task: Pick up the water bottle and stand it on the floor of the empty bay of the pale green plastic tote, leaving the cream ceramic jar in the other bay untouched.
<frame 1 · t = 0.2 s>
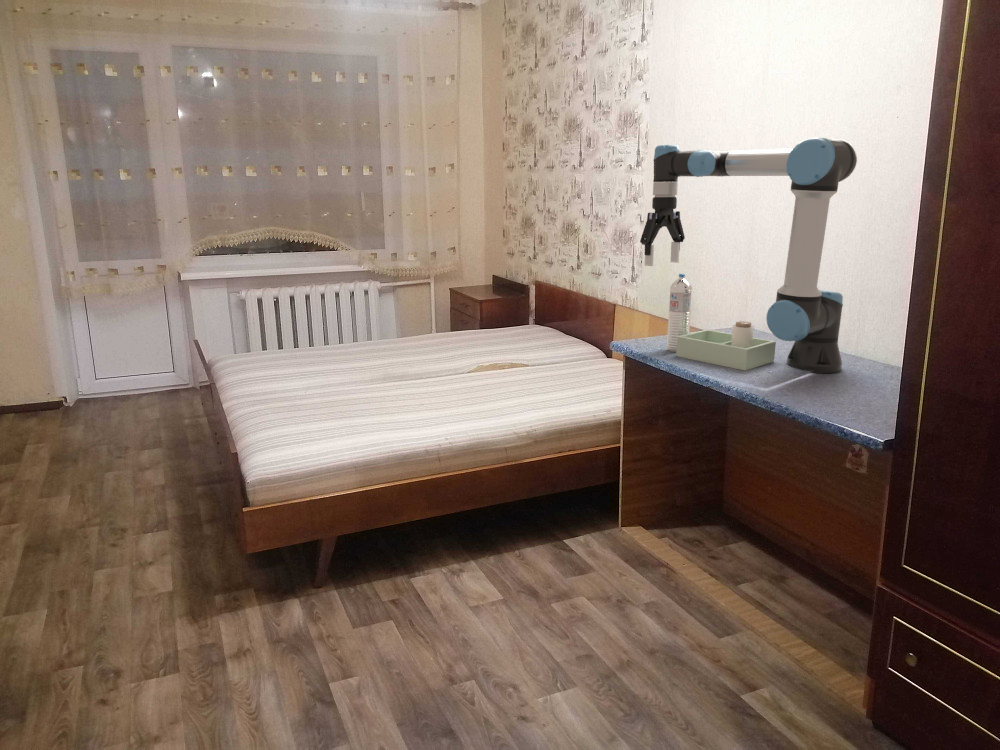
hand: (661, 264, 242), 28 cm above the table, fingers open, 13 cm apart
tote: (724, 361, 231), on the table
jar: (740, 361, 227), point 1 cm above the table, touching tote
water bottle: (677, 351, 245), on the table
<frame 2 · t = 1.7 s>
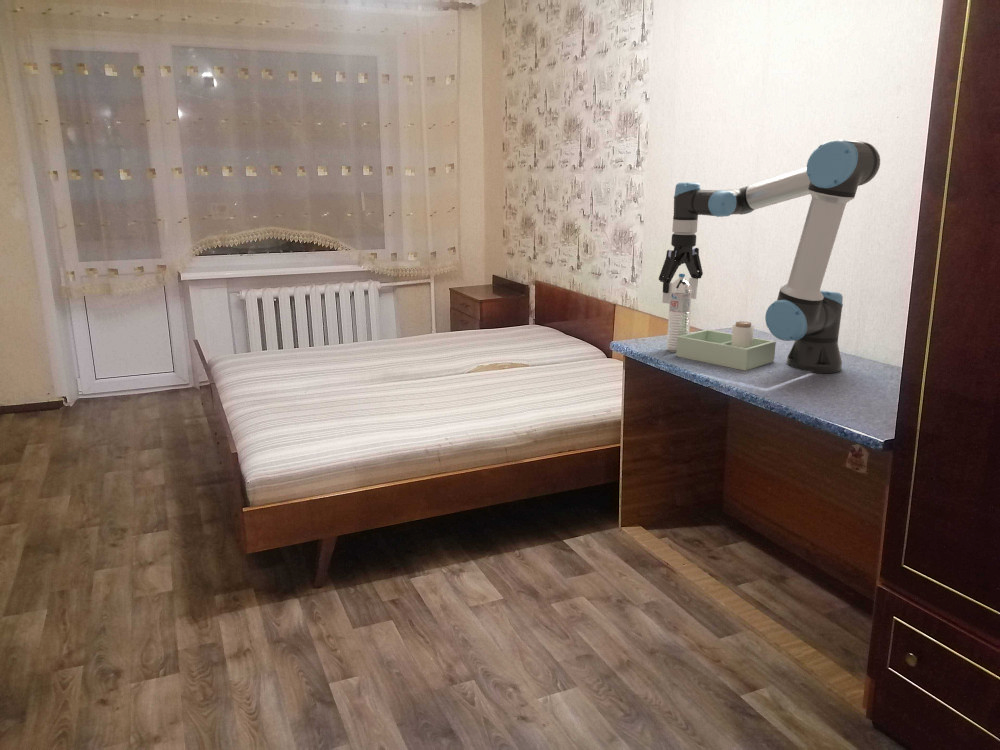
hand: (679, 300, 241), 16 cm above the table, fingers open, 13 cm apart
nothing on the table moved.
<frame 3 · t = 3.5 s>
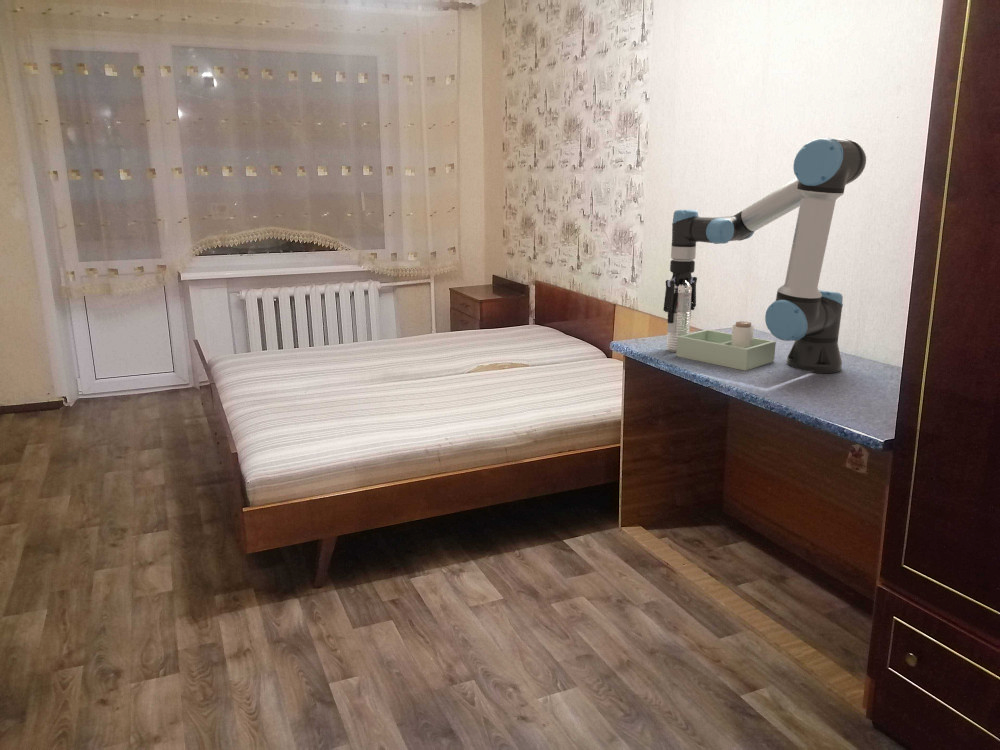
hand: (678, 331, 243), 7 cm above the table, fingers closed on water bottle, 7 cm apart
water bottle: (677, 351, 245), on the table, touching gripper
everything else where it was.
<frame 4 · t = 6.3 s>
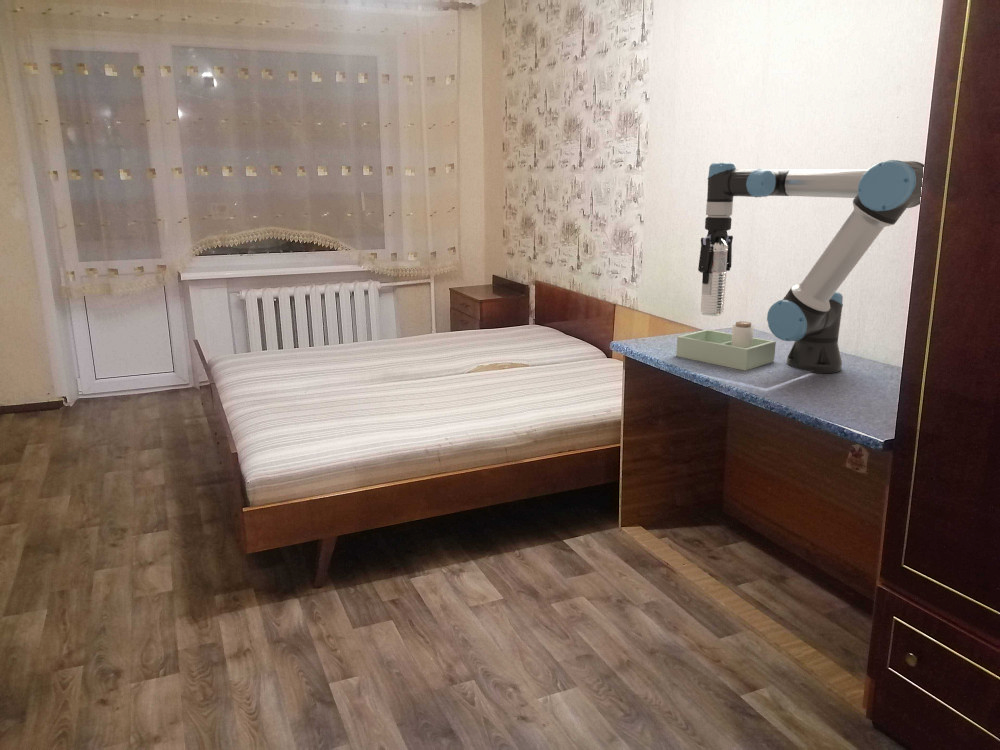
hand: (713, 293, 230), 20 cm above the table, fingers closed on water bottle, 7 cm apart
water bottle: (711, 314, 232), point 14 cm above the table, touching gripper
everything else where it was.
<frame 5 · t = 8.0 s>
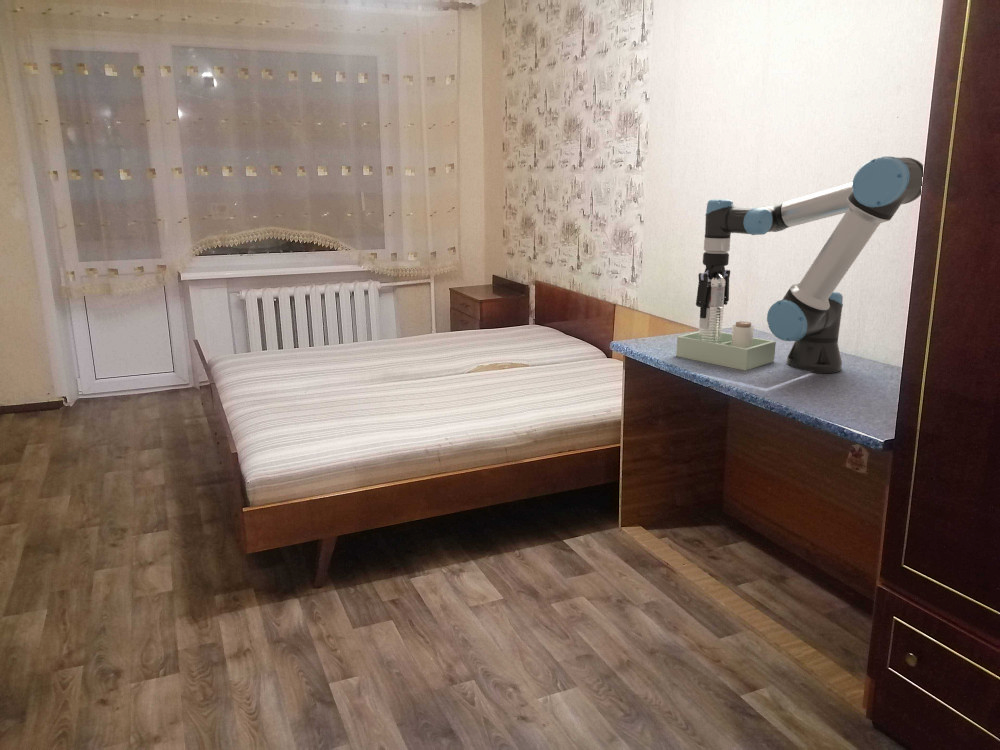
hand: (710, 326, 233), 10 cm above the table, fingers closed on water bottle, 7 cm apart
water bottle: (709, 347, 234), point 3 cm above the table, touching gripper
everything else where it was.
when the fingers open (9 cm above the table, at t = 9.0 s): water bottle drops 2 cm, resting on tote.
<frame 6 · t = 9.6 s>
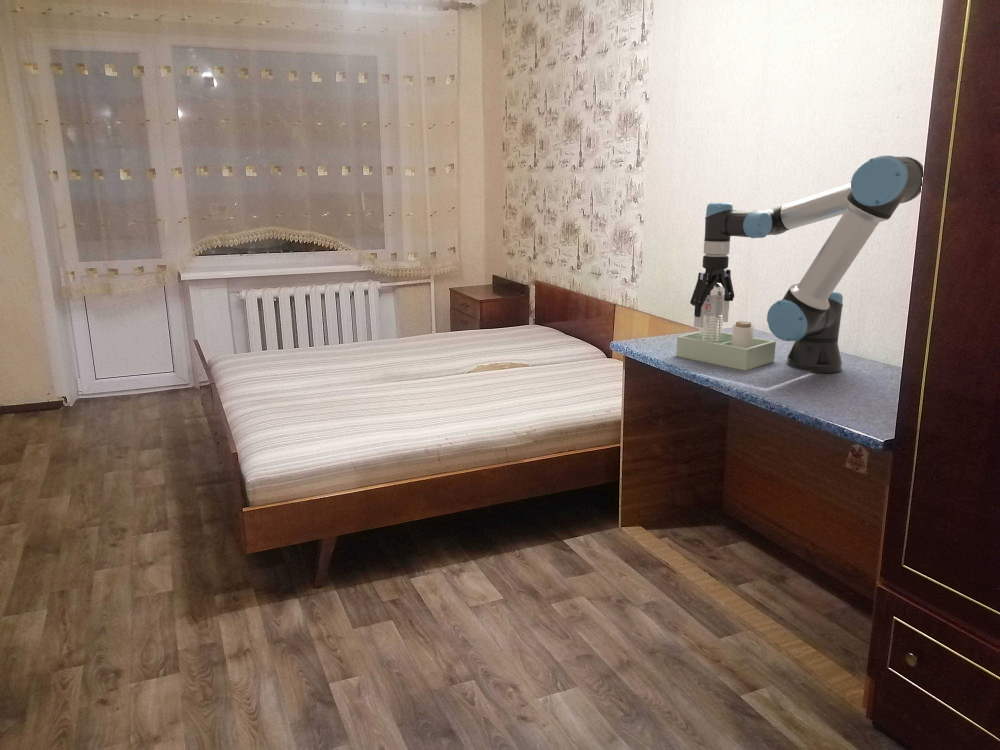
hand: (711, 324, 232), 11 cm above the table, fingers open, 13 cm apart
water bottle: (709, 356, 235), point 1 cm above the table, touching tote
everything else where it was.
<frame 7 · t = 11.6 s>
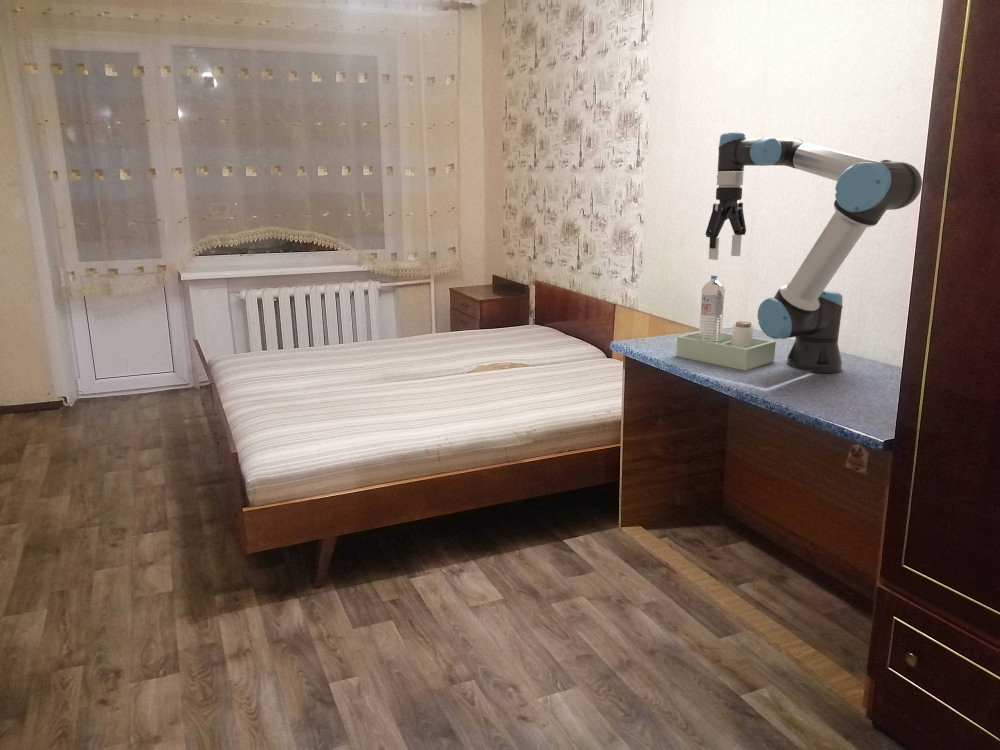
hand: (724, 257, 231), 31 cm above the table, fingers open, 13 cm apart
nothing on the table moved.
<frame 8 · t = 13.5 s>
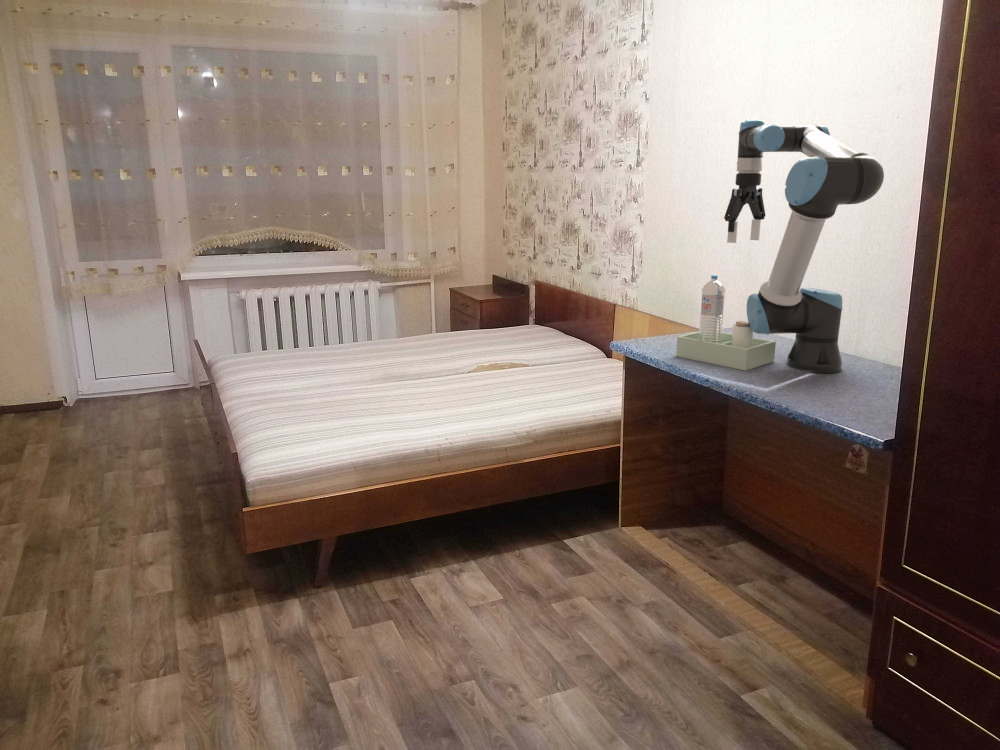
hand: (743, 241, 240), 35 cm above the table, fingers open, 13 cm apart
jar: (740, 361, 227), point 1 cm above the table, touching arm, tote
everything else where it was.
at the end: water bottle inside the target area on the tote (0.8 cm from its centre), point 0.6 cm above the tote's base; water bottle tilted 0°; jar moved 0.2 cm from its start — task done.
